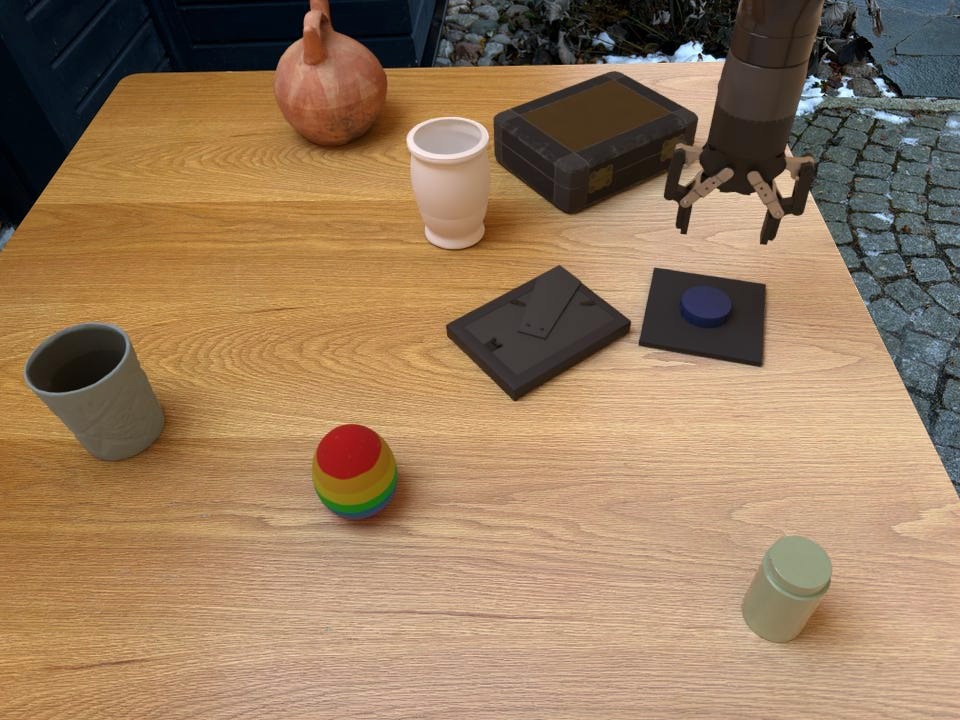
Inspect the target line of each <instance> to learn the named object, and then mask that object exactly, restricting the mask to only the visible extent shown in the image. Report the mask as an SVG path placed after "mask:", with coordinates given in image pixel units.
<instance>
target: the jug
mask: <svg viewBox="0 0 960 720" xmlns="http://www.w3.org/2000/svg"><path fill="white" fill-rule="evenodd" d="M309 6H310V11H308V12H307V13H306V14H305V16H304V19H303V29H302V31H303V35H302V37H301V38H299V39H298V40H296V41H294V43H292V44H291V45H290V46H288V47H287V49H286V50H285V51H284V53H283V54H282V55H281V56H280V59H279V60H278V63H277V66H276V69H275V73H274V77H273V84H272V88H273V94H274V98H275V102H276V104H277V107H278V109H279V110H280V112H281V114H282V116H283V118H284V119H285V121H286V122H287V123H288V124H289V125H290V126H291V127H292V128H293V129H294V130H296V132H298V133H299V134H300V135H301V136H303V137H304V138H305V139H306V140H308V141H310V142H311V143H313V144H317V145H319V146H323V147H334V146H335V147H336V146H337V147H338V146H342V145H347V144H350V143H353V142H354V141H357V140H359V139H360V138H362V137H364V136H365V135H366V134H367V133H368V132H369V130H370V129H371V128H372V126H373V125H375V122H376V120H377V119H378V118H379V117H380V115H381V113H382V111H383V110H384V109H383V108H384V106H385V105H386V100H387V94H388V77H387V73H386V71H385V70H384V68H383V66H382V64H381V63H380V60H379V59H378V58H377V56H375V54H374V53H373V52H372V51H371V50H369V48H367V47H366V46H365V45H363V44H362V43H360V42H359V41H357V40H356V39H354V38H352V37H350V36H348V35H345V34H342V33H340V32H337V31H335V30H334V28H333V25H332V21H331V16H330V15H331V14H330V13H331V12H330V4H329V0H309Z"/></svg>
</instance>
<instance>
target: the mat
mask: <svg viewBox="0 0 960 720" xmlns="http://www.w3.org/2000/svg"><path fill="white" fill-rule="evenodd" d="M697 286H709V287H713V288H716V289H719V290H721V291H722V292H724V293H725V294H726V295H727V296H728V297H729V298H730V300H731V308H732V309H731V312H730V315H729V317H728V319H727V321H726V323H724V324H722V325H720V326H718V327H713V328H703V327H698V326H695V325H693V324H691V323H689V322H688V321H686V320H685V319H684V318H683V316H681V312H680V307H679V306H680V301H681V300H682V296H683V294H684V293H685V292H686V291H687V290H688V289H690V288H693V287H697ZM766 293H767V283H760V282H754V281H748V280H742V279H736V278H735V279H734V278H728V277H720V276H716V275H715V276H714V275H707V274H702V273H696V272H695V273H694V272H687V271H681V270H676V269H675V270H674V269H669V268H662V267H653V272H652V275H651V281H650V285H649V290H648V296H647V301H646V304H645V305H646V306H645V310H644V315H643V320H642V325H641V329H640V335H639V341H638V346H639V347H644V348H650V349H655V350H661V351H668V352H672V353H679V354H685V355H691V356H696V357H702V358H707V359H712V360H713V359H714V360H719V361H723V362H724V361H725V362H730V363H735V364H736V363H737V364H742V365H747V366H753V367H759V368H761V367H762V365H763V361H764V360H763V359H764V337H765V319H766V318H765V317H766V316H765V315H766V296H767V294H766Z"/></svg>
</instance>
